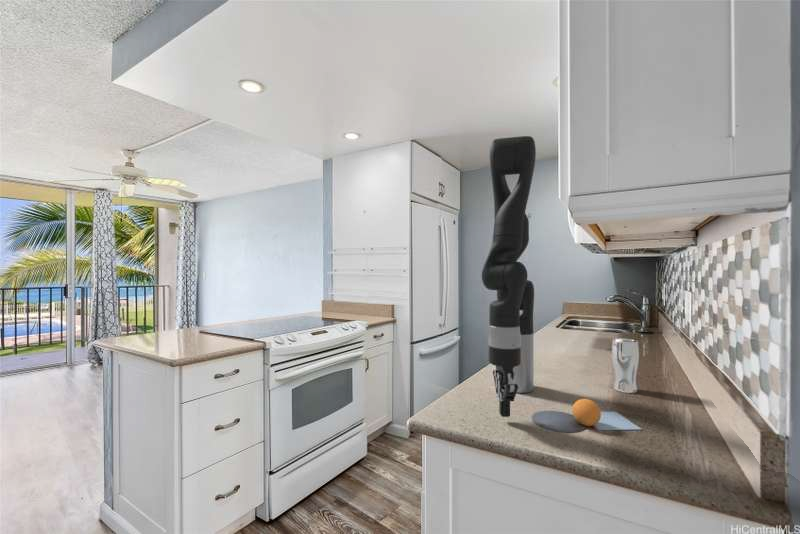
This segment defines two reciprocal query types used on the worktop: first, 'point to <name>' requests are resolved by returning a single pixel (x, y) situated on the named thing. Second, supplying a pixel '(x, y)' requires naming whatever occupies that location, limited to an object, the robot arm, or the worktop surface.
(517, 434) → the worktop surface
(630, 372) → the beer glass
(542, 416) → the disc
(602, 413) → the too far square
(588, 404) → the ball
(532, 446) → the worktop surface
